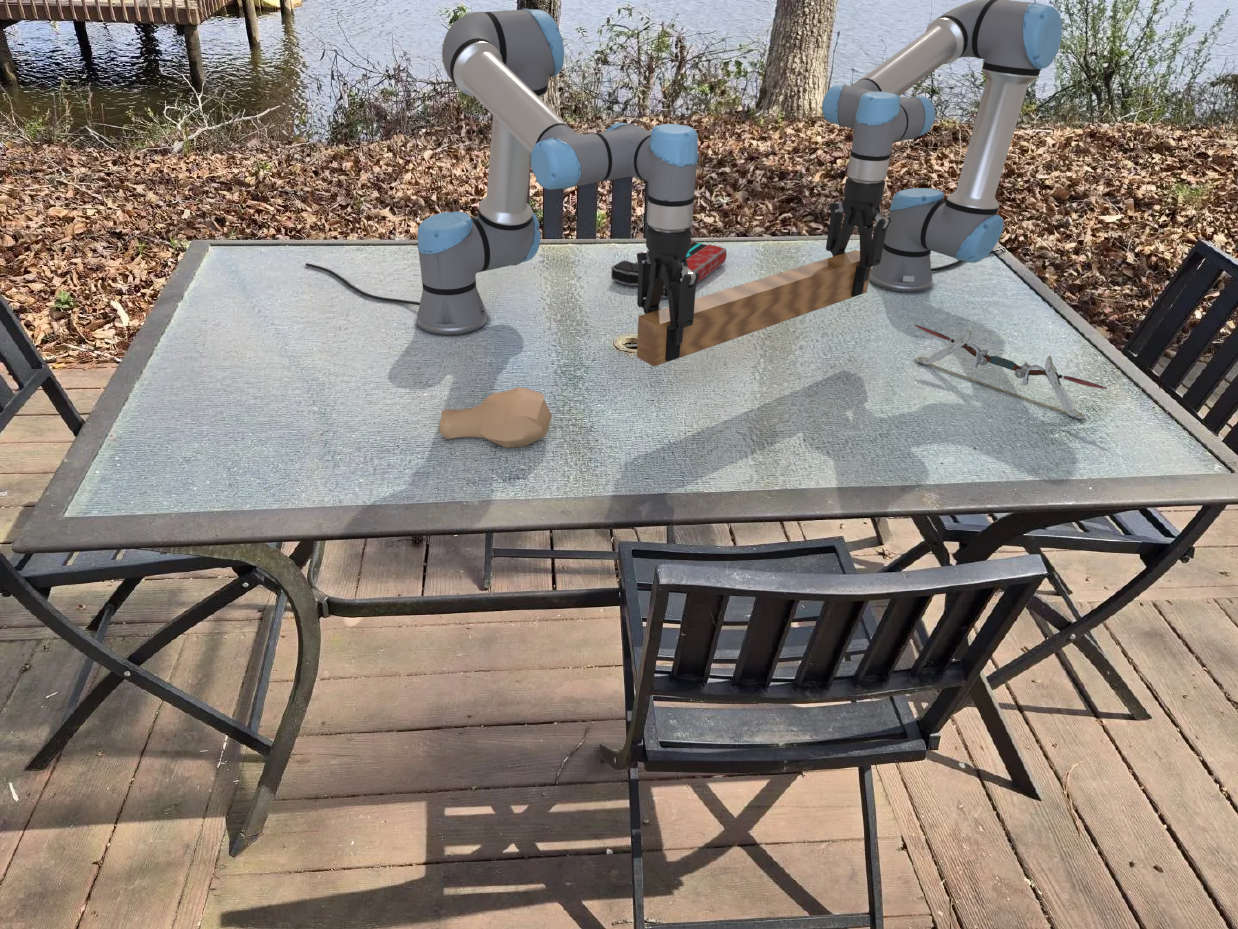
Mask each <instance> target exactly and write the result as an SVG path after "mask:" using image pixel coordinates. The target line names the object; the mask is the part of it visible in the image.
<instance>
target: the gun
mask: <svg viewBox="0 0 1238 929" xmlns="http://www.w3.org/2000/svg"><path fill="white" fill-rule="evenodd" d="M727 256H728V254H727V248H725V247H722V246H718V245H713V244H704V243H700V242H697V241H695V239H693V238H691V248H690V250H689V251H688V253H687V255H686V259H687V263H688V268H689V269H690V270H691V271H692V272H698V273H699V279H698V281H697V284H698V283H699V282H701V281H702V280H704V279H705V278H707V277H708V276H709V275H710V274H712V273H714V271H716V270H717V269H718V268H720V267H721V266H722V265H723V264H724V263H726V259H727ZM638 270H639V265H638V260H636V262H631V261H629V260H626V259H623V260H621V261H620V262H617V263H616V264H613V265H612V266H611V276H610V279H611V280H612V281H614V282H616V283H619V284H623V285H627V286H637V287H638ZM675 282H676V281H675ZM672 283H673V282H672ZM666 298H667V299H668V294H667V289H665V287H664V288H663V292H662V296H661V299H666Z"/></svg>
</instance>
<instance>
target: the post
mask: <svg viewBox="0 0 1238 929" xmlns="http://www.w3.org/2000/svg"><path fill="white" fill-rule="evenodd" d="M858 265H860V250H857V249H854V250H851V251H846V253H844V254H840V255H837V256H834V257H833V256H830V257H827V258H824V259H821V260H818V261H814V262H812V263H811V262H810V263H808V264H805V265H802V266H798V267H795V268H792V269H788V270H785V271H782V272H778V273H775V274H772V275H769V276H765V277H762V278H759V279H758V278H757V279H756V280H752V281H749V282H745V283H742V284H739V285H735V286H732V287H729V288H726V289H723V290H720V291H716V292H714V293H710V294H707V295H702V296H699V297H697V298H696V297H695V305H694V318H693V325H691V326H688V327H685V328H683V341H682V343H681V344H680V356H679V358H677V359H674V360H673V361H675V360H678V359H680V358H684V357H686V356H689V355H692V354H694V353H697V352H700V351H703V350H706V349H709V348H712V347H715V346H717V345H720V344H724V343H726V342H729V341H732V340H735V339H738V338H741V337H744V336H747V335H749V334H753V333H754V332H757V331H760V330H763V329H767V328H769V327H772V326H775V325H777V324H781V323H783V322H787V321H789V320H792V319H795V318H798V317H801V316H804V315H807V314H809V313H812V312H815V311H819V310H821V309H824V308H826V307H830V306H832V305H836V304H838V303H841V302H843V301H846V300H849V299H852V298H853V297H852V296H851V293H852V288H853V282H854V277H855V271H856V266H858ZM871 269H872V267H870V271H869V277H868V280H867V281H865V282H864V287H863V293H862V294H861V295H864V294H867V293H868V289H869V283H870V279H869V278H870V273H871ZM659 309H660V308H659ZM637 319H638V320H637V341H636V342H637V343H636V358H637V359H639V360H641V361H643V362H645V363H647V364H648V365H650V366H652V367H658V366H660V365H664V364H666V363H668V362H667V361H666V360H665V355H666V338H667V326H669V325H671V323H670V313H669V306H667V307H664V308H661V309H660V310H657V311H654V312H650V313H647V314H645V313H644V314H641V315H638V317H637Z"/></svg>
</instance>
